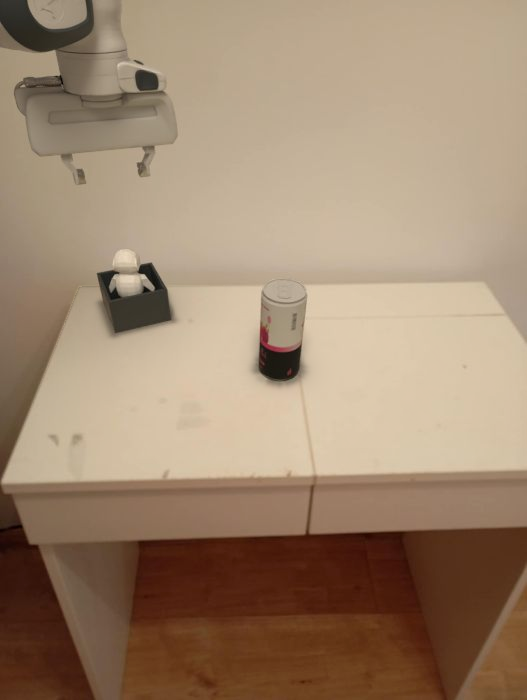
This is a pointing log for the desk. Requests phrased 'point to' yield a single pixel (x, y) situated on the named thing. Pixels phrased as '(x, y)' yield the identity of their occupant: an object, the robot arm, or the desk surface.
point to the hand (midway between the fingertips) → (113, 179)
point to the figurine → (128, 274)
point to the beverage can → (281, 327)
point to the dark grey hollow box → (135, 301)
